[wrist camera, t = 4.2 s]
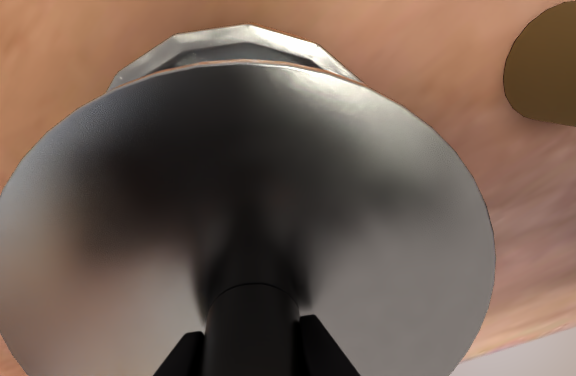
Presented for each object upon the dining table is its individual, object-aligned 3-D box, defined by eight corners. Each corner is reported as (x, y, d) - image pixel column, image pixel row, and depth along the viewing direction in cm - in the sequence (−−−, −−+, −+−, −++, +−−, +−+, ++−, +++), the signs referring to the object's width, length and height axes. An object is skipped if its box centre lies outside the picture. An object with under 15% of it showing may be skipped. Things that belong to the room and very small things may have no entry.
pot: (362, 224, 22) (395, 289, 17) (168, 253, 22) (139, 327, 17) (352, 7, 17) (395, 2, 12) (99, 43, 17) (25, 55, 12)
